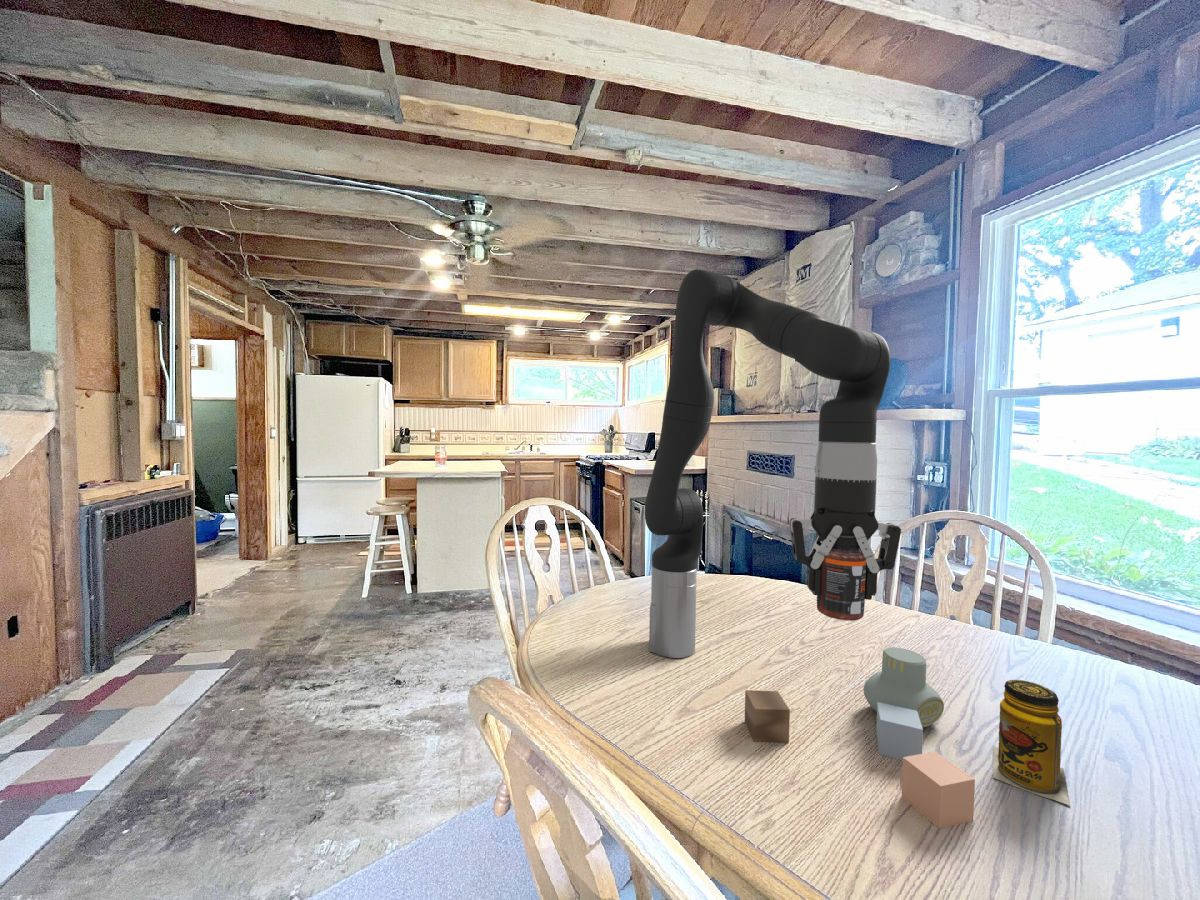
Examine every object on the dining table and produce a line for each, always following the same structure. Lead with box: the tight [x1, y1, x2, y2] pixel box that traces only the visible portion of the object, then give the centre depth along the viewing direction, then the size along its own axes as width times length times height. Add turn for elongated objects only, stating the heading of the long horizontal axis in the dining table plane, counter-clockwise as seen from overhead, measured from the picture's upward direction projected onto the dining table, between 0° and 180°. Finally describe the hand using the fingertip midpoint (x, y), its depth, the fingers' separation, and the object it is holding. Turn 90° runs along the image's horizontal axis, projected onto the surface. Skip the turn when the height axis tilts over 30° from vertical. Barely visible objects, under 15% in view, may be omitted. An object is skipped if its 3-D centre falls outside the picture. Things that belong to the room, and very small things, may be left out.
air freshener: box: [863, 646, 945, 728], centre depth 76 cm, size 11×8×10 cm
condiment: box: [992, 679, 1071, 807], centre depth 63 cm, size 7×8×12 cm
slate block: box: [875, 702, 924, 761], centre depth 68 cm, size 5×5×5 cm
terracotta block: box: [901, 750, 976, 829], centre depth 57 cm, size 5×5×5 cm
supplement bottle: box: [816, 535, 866, 622], centre depth 66 cm, size 6×6×11 cm
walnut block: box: [744, 689, 791, 744], centre depth 71 cm, size 5×5×5 cm
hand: (840, 595), depth 66 cm, fingers closed on supplement bottle, 6 cm apart
